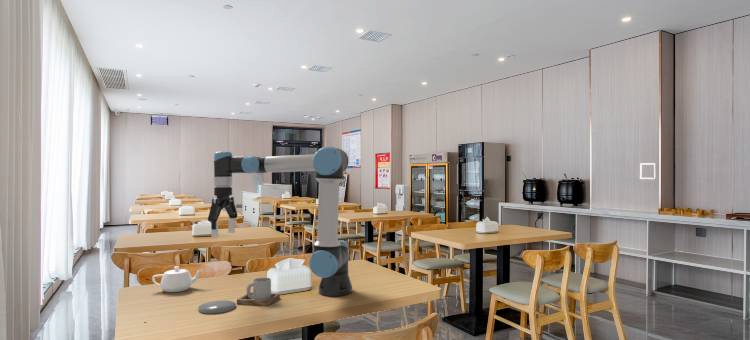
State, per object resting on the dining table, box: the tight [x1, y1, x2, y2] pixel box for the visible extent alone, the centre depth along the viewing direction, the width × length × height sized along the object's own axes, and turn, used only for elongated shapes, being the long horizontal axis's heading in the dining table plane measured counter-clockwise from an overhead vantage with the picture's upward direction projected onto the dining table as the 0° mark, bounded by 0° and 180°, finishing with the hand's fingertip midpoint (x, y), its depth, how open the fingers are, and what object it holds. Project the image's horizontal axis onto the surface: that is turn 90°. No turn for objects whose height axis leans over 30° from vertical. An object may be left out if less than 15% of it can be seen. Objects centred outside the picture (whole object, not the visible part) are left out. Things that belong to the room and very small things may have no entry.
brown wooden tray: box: [236, 291, 281, 307], centre depth 181 cm, size 14×11×2 cm
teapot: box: [151, 265, 203, 293], centre depth 199 cm, size 22×14×11 cm, turn 109°
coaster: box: [197, 300, 237, 315], centre depth 171 cm, size 14×14×1 cm
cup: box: [245, 277, 272, 301], centre depth 181 cm, size 7×10×9 cm
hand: (223, 234), depth 190 cm, fingers open, 13 cm apart
